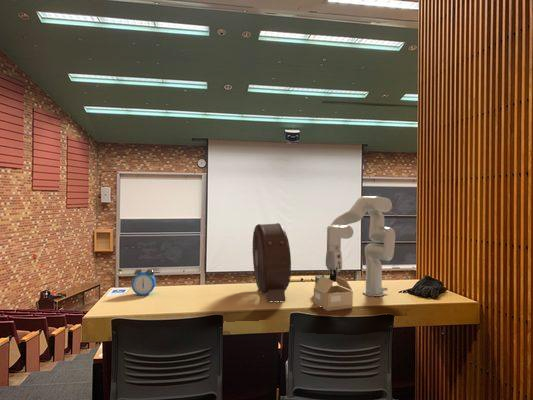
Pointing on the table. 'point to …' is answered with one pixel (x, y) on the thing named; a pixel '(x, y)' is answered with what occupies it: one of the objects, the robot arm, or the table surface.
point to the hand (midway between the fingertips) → (332, 281)
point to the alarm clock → (143, 282)
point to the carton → (334, 298)
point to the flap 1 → (324, 284)
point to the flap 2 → (342, 283)
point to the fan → (271, 260)
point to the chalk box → (320, 276)
